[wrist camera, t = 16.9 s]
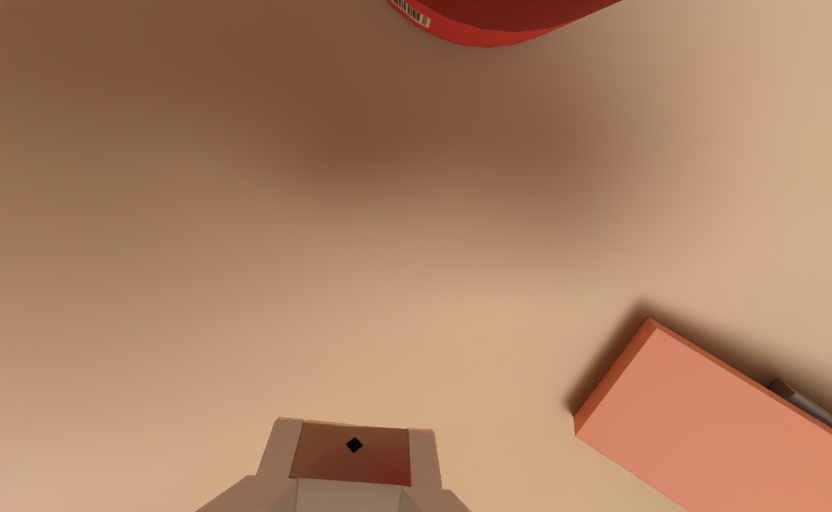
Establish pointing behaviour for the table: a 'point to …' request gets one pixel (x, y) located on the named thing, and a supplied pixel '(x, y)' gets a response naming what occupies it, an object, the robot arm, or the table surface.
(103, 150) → the table surface
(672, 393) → the tile
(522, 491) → the table surface
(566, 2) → the canned food
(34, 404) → the table surface
